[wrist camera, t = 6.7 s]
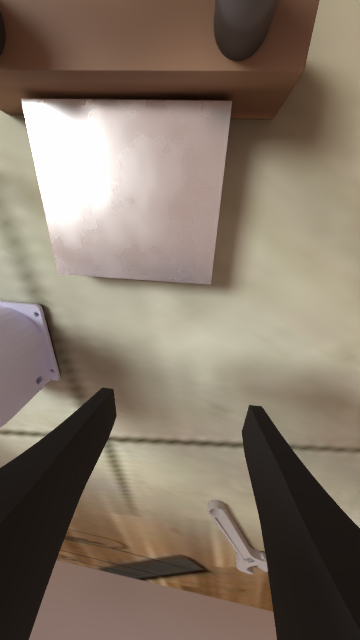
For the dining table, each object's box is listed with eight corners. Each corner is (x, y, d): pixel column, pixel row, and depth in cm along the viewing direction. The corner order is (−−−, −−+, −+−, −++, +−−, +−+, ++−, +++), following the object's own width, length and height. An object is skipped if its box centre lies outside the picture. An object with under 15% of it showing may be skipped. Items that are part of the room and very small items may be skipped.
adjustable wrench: (204, 496, 32) (205, 510, 30) (243, 493, 31) (246, 507, 29) (238, 561, 41) (240, 574, 39) (270, 561, 39) (273, 575, 38)
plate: (208, 276, 17) (210, 284, 14) (79, 267, 18) (58, 274, 15) (225, 128, 13) (232, 100, 10) (56, 125, 14) (20, 98, 11)
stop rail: (272, 119, 12) (352, -5, 6) (7, 114, 13) (-167, 6, 7) (285, 48, 11) (404, -204, 5) (-8, 49, 12) (-236, -153, 6)
